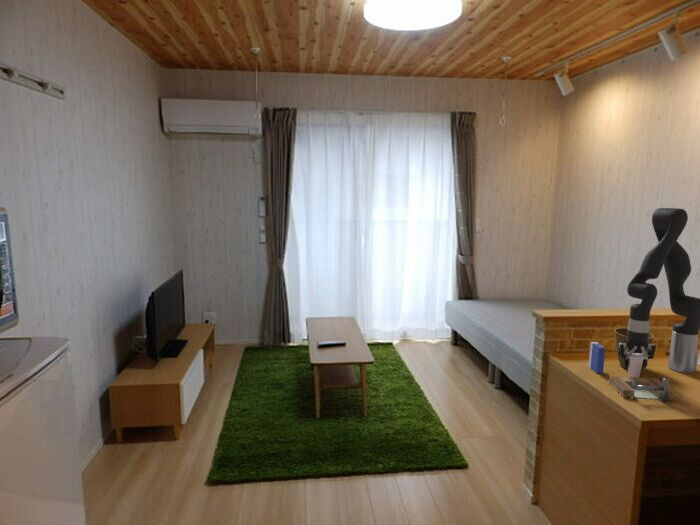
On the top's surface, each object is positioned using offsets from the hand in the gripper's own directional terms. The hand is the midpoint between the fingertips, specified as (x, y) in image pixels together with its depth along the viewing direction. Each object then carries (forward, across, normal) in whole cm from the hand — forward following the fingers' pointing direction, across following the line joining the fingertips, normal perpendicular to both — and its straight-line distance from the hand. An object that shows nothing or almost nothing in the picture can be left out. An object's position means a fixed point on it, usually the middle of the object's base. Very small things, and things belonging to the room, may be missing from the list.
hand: (634, 367), depth 192 cm
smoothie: (+4, 0, 0) cm, 4 cm away
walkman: (+5, +12, -8) cm, 16 cm away
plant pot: (+6, -5, -14) cm, 16 cm away
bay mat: (+5, +4, +15) cm, 16 cm away
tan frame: (+5, +3, +13) cm, 14 cm away
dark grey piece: (+5, +4, +20) cm, 21 cm away
